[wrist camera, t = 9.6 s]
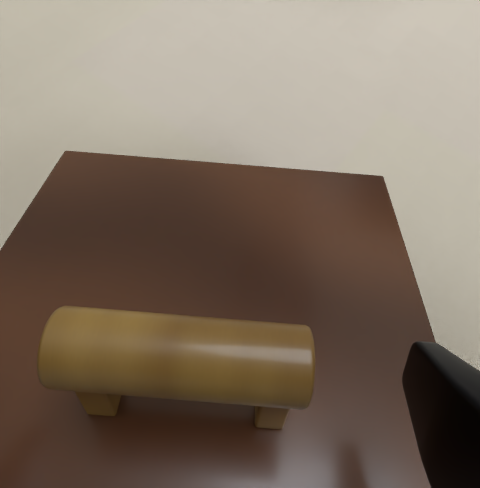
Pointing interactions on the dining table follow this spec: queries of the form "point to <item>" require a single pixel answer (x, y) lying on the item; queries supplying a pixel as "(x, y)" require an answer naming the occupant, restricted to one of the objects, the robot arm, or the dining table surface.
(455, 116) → the dining table surface
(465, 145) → the dining table surface
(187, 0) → the dining table surface
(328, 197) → the tea lid
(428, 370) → the robot arm
